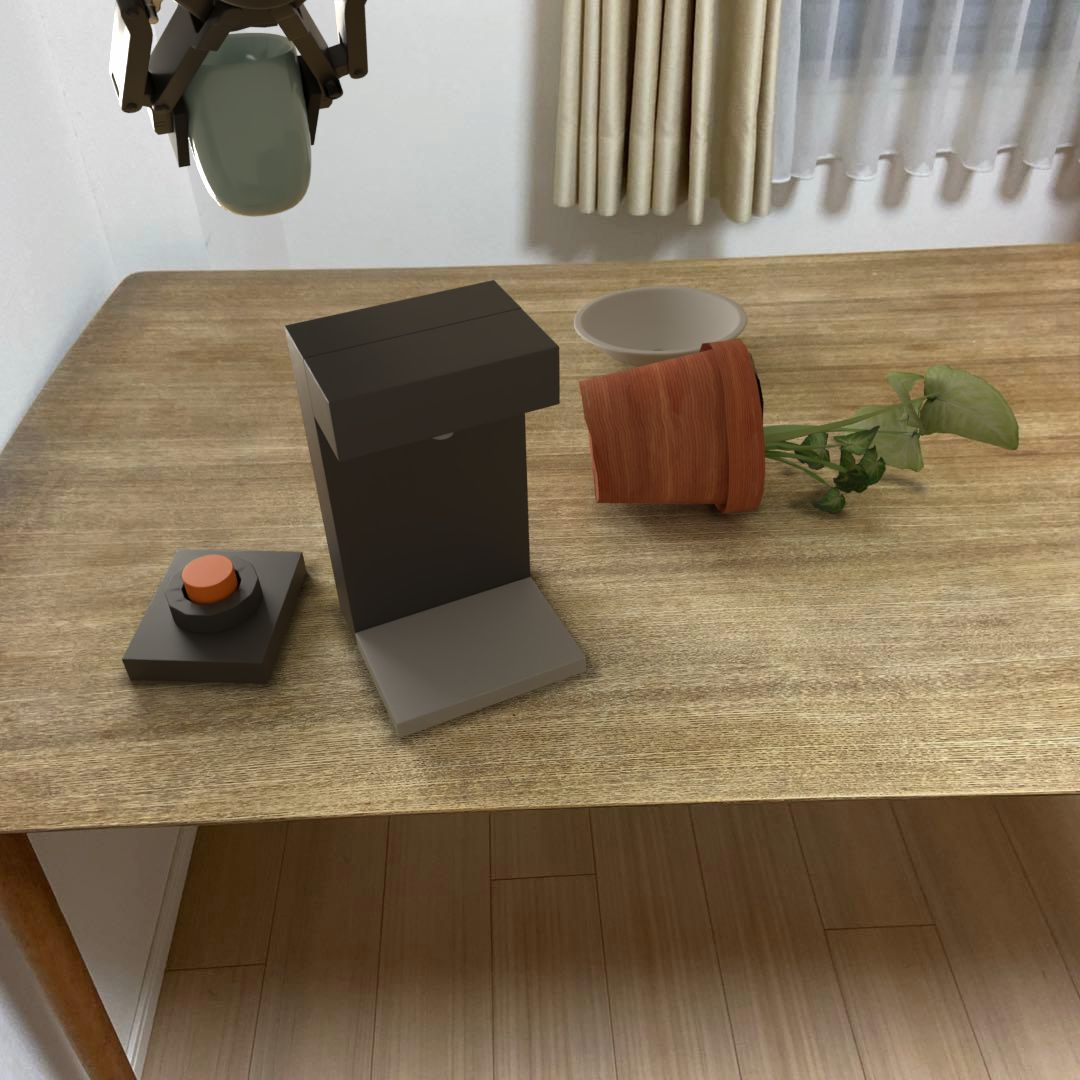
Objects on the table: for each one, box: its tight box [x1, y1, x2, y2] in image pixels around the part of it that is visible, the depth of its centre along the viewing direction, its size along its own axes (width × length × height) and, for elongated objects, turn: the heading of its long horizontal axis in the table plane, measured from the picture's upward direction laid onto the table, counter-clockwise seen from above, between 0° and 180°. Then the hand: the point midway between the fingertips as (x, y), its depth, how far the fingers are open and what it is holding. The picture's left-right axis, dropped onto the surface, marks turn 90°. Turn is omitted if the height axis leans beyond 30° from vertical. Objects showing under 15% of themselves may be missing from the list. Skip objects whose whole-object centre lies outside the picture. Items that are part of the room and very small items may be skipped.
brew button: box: [182, 555, 238, 604], centre depth 74 cm, size 4×4×2 cm
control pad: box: [121, 548, 308, 685], centre depth 76 cm, size 10×12×4 cm
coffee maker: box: [284, 279, 587, 739], centre depth 67 cm, size 14×14×24 cm
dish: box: [573, 285, 748, 367], centre depth 104 cm, size 18×14×5 cm
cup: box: [181, 32, 313, 218], centre depth 66 cm, size 8×8×10 cm
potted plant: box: [577, 338, 1020, 515], centre depth 84 cm, size 16×15×35 cm
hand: (241, 137), depth 70 cm, fingers closed on cup, 8 cm apart
